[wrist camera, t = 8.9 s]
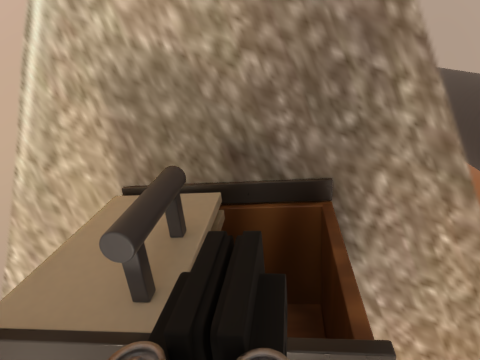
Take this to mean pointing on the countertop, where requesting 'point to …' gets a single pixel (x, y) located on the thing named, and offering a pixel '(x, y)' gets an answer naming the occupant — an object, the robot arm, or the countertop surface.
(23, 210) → the countertop surface
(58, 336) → the cabinet
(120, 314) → the sliding door
